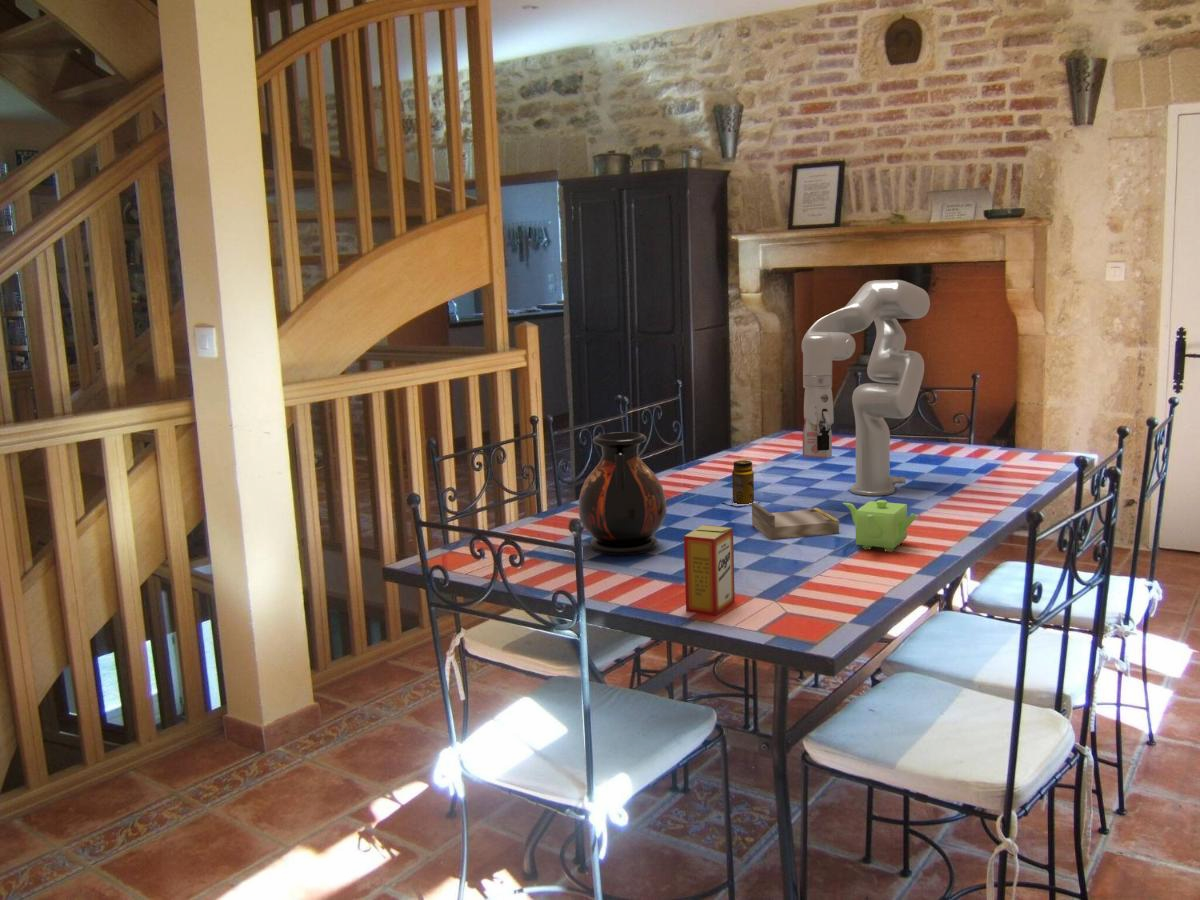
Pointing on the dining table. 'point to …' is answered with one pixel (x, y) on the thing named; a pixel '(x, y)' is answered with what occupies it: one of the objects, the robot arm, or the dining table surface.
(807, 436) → the small white carton
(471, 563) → the dining table surface
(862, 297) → the robot arm
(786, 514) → the dock
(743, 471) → the condiment
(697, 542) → the baking soda box
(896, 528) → the kettle
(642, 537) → the amphora vase
